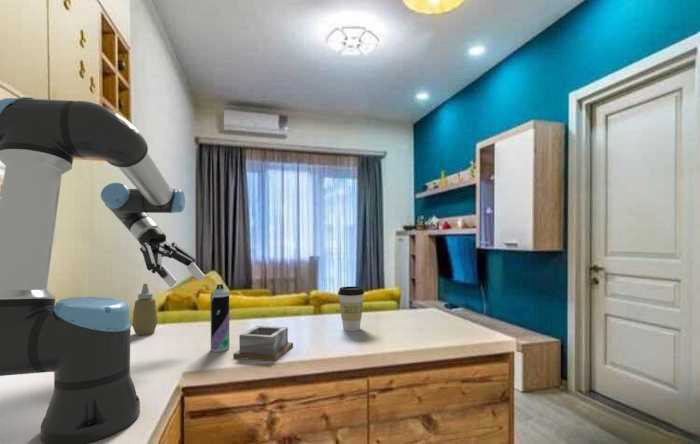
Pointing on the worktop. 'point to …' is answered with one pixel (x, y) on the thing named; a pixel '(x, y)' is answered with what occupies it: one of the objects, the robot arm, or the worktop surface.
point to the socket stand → (263, 343)
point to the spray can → (219, 319)
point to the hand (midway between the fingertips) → (188, 281)
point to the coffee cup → (351, 307)
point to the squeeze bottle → (145, 313)
